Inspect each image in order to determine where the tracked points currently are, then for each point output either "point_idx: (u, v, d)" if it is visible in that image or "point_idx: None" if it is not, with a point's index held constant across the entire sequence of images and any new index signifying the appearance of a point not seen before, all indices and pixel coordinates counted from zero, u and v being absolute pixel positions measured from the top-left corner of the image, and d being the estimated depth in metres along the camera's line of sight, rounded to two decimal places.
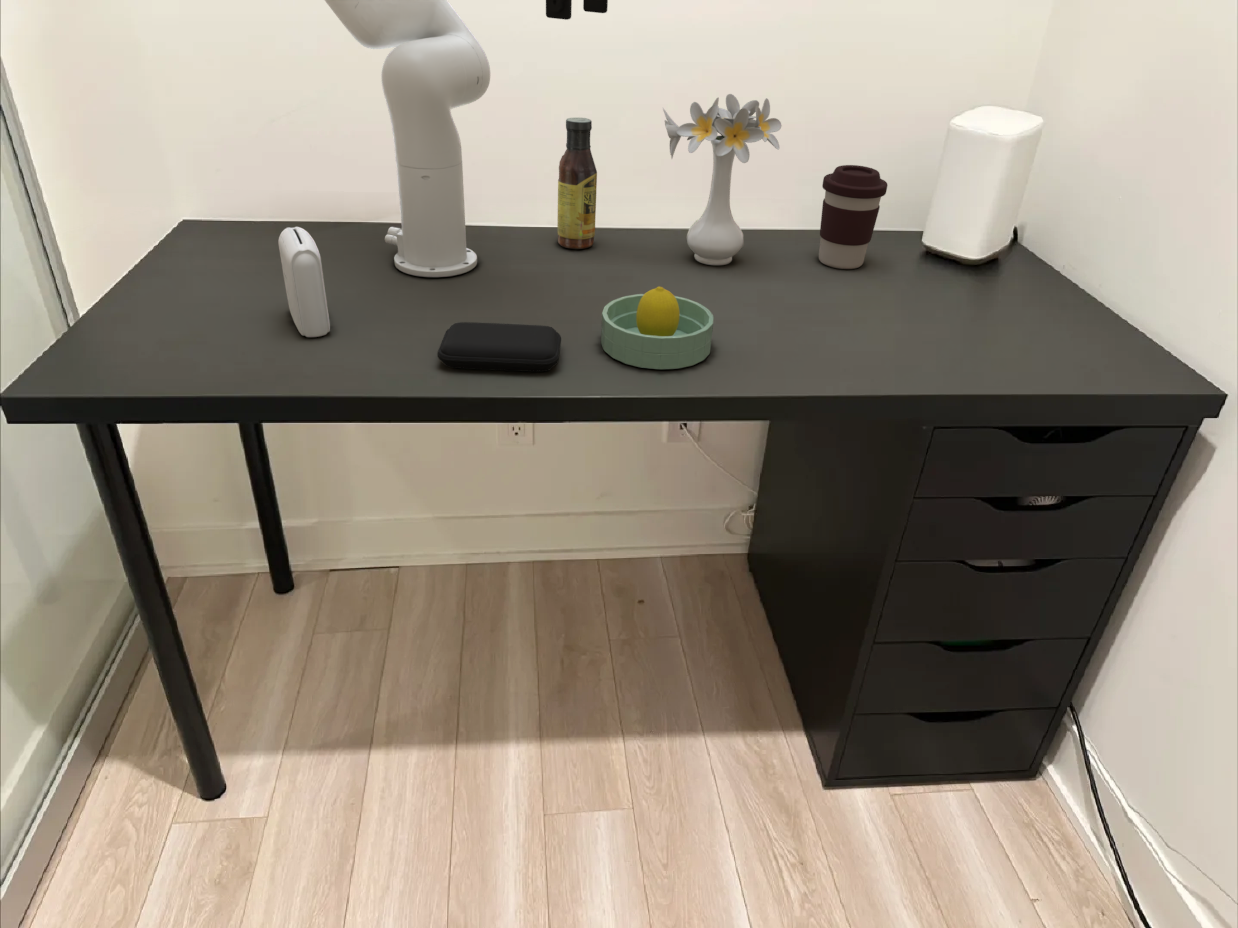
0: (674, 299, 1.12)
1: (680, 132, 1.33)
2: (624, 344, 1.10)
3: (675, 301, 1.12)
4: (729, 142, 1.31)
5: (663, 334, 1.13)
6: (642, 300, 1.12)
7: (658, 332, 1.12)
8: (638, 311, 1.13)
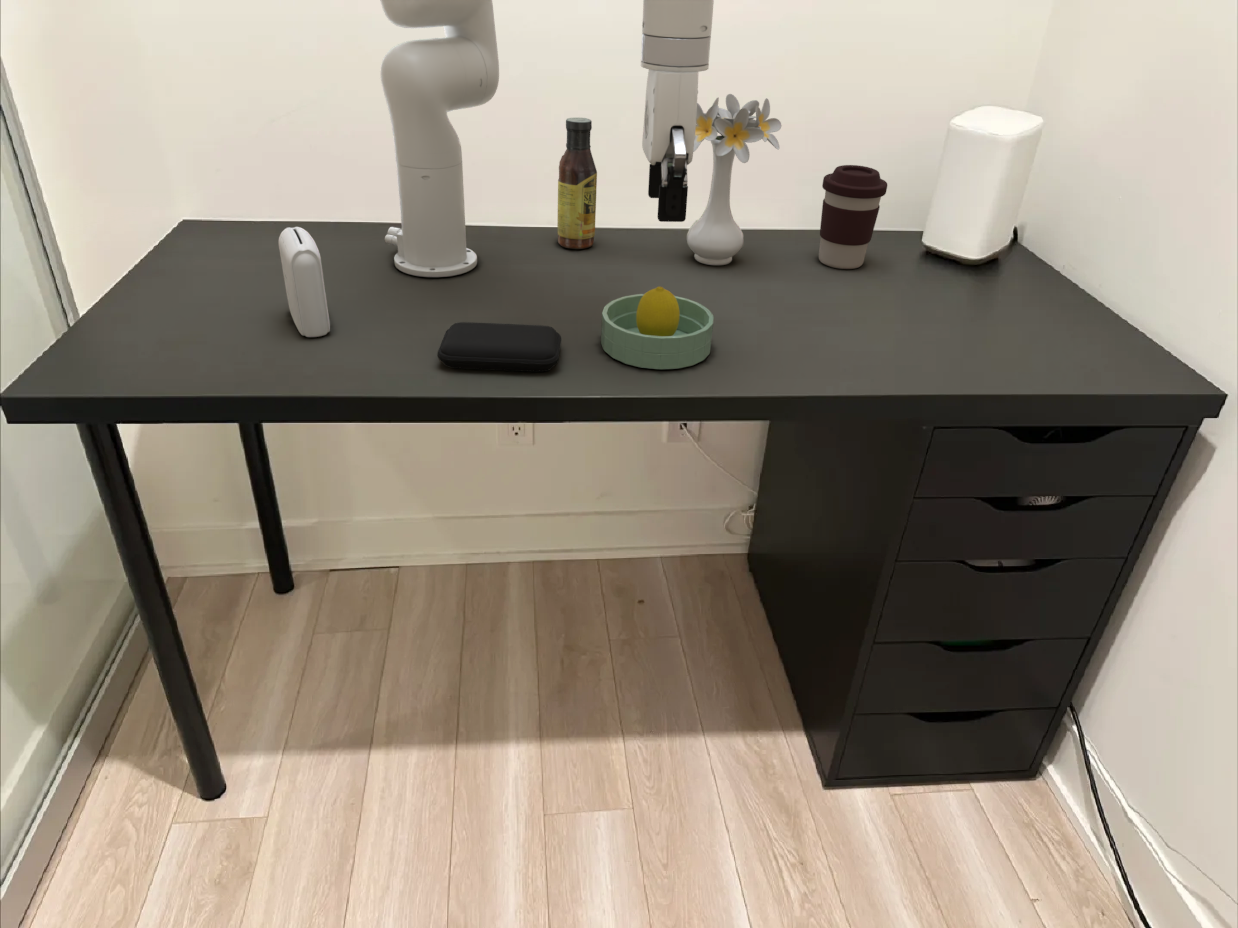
0: (674, 299, 1.12)
1: None
2: (624, 344, 1.10)
3: (675, 301, 1.12)
4: (729, 142, 1.31)
5: (663, 334, 1.13)
6: (642, 300, 1.12)
7: (658, 332, 1.12)
8: (638, 311, 1.13)
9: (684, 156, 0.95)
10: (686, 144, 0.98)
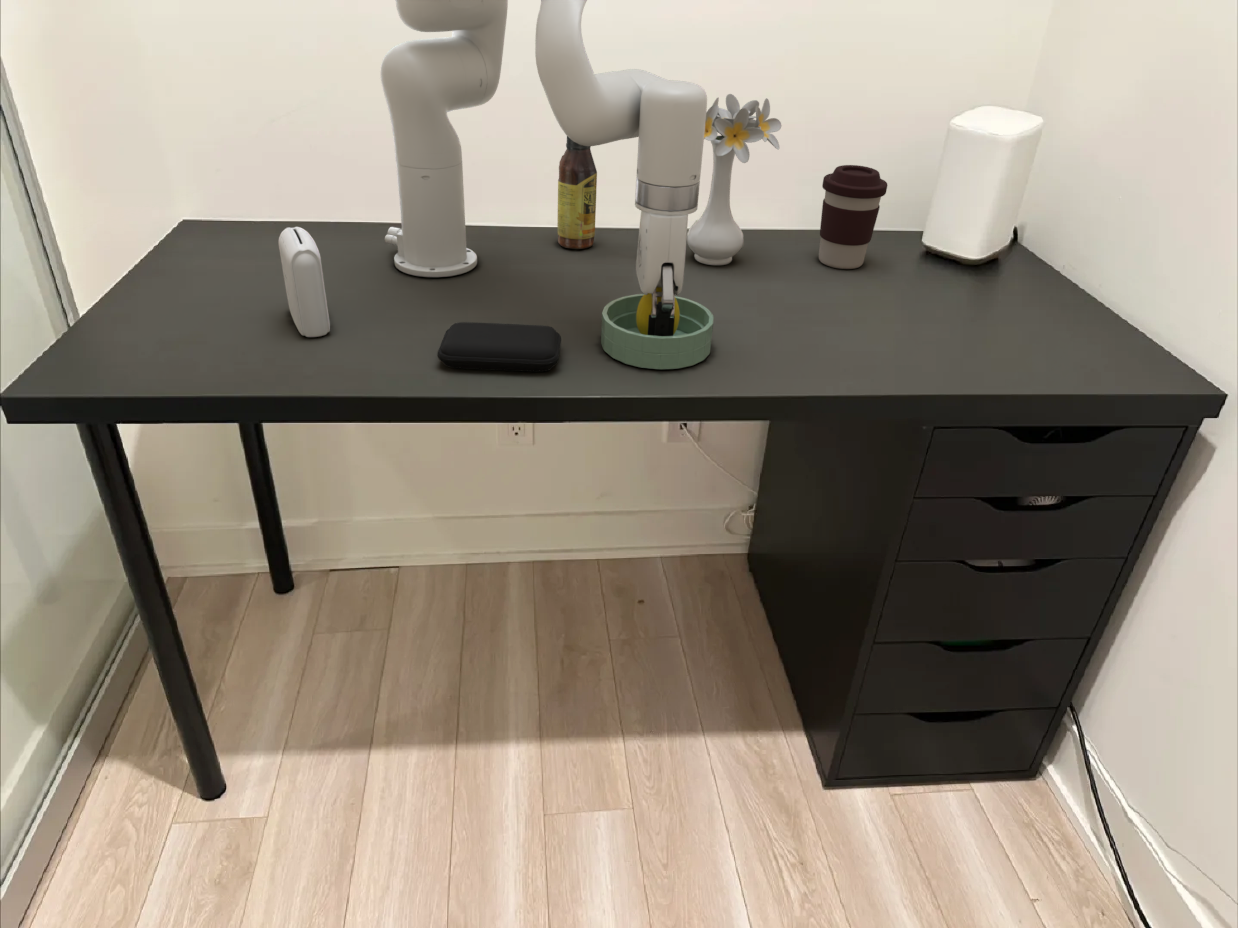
0: None
1: None
2: (624, 344, 1.10)
3: (675, 301, 1.12)
4: (729, 142, 1.31)
5: None
6: (642, 300, 1.12)
7: None
8: (638, 311, 1.13)
9: (671, 303, 1.05)
10: (676, 278, 1.06)
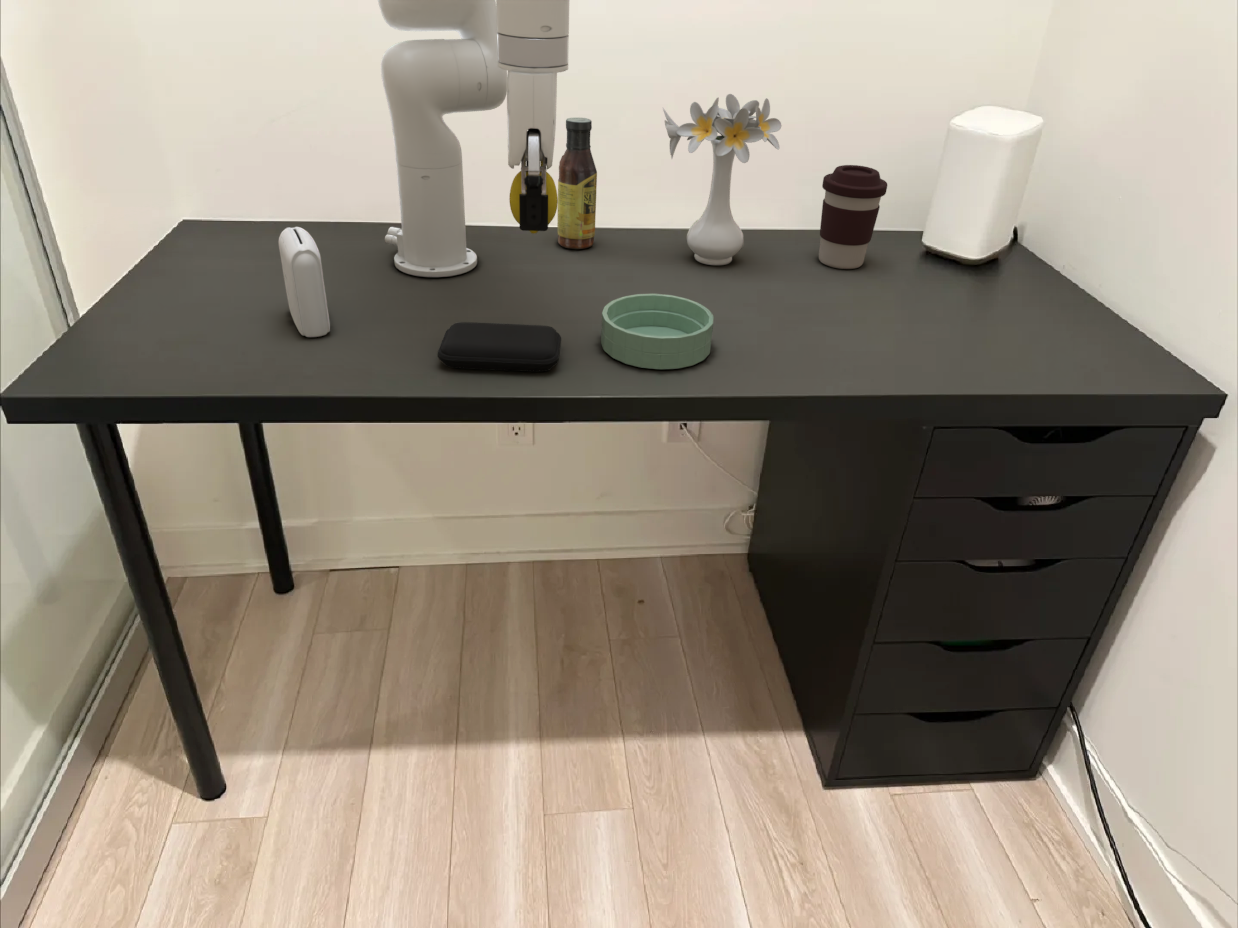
0: (549, 178, 1.01)
1: (680, 132, 1.33)
2: (624, 344, 1.10)
3: (551, 180, 1.01)
4: (729, 142, 1.31)
5: None
6: (514, 179, 1.01)
7: None
8: (510, 192, 1.01)
9: (537, 174, 0.94)
10: (544, 148, 0.95)
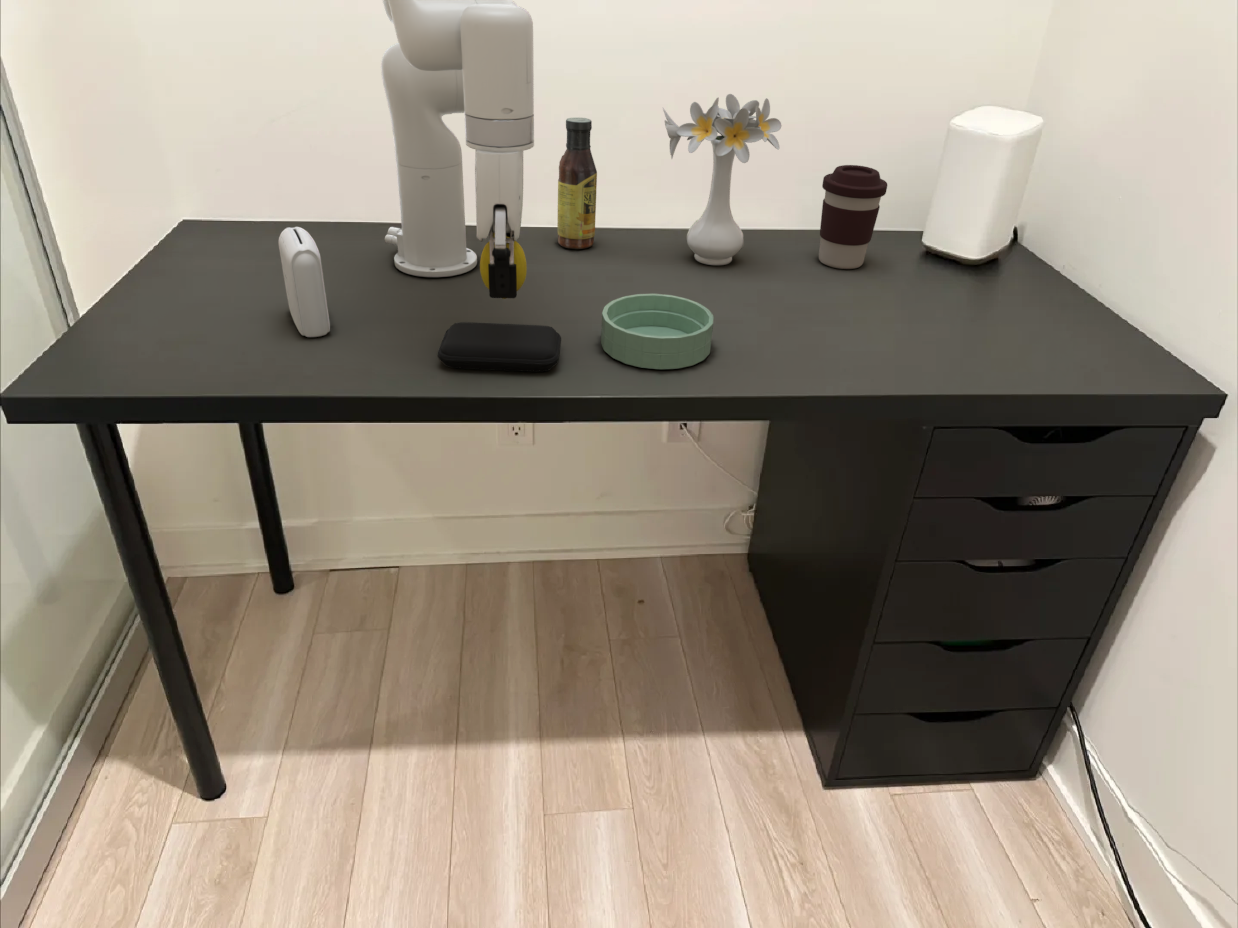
0: (518, 247, 1.04)
1: (680, 132, 1.33)
2: (624, 344, 1.10)
3: (519, 250, 1.04)
4: (729, 142, 1.31)
5: None
6: (484, 249, 1.04)
7: None
8: (480, 261, 1.05)
9: (504, 248, 0.97)
10: (510, 222, 0.98)
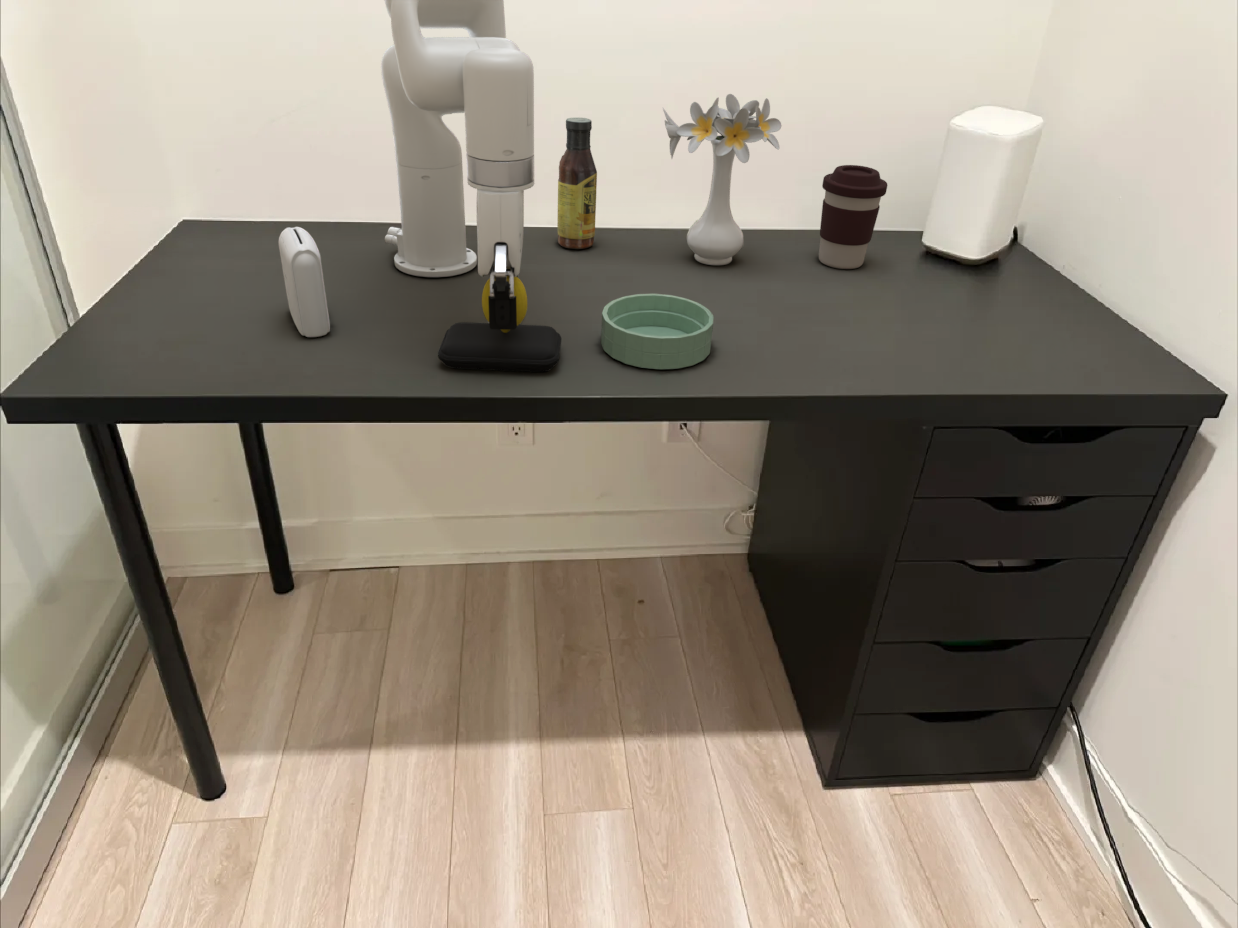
0: (519, 284, 1.06)
1: (680, 132, 1.33)
2: (624, 344, 1.10)
3: (520, 286, 1.07)
4: (729, 142, 1.31)
5: None
6: (485, 285, 1.07)
7: None
8: (482, 296, 1.07)
9: (504, 274, 0.98)
10: (511, 259, 1.00)
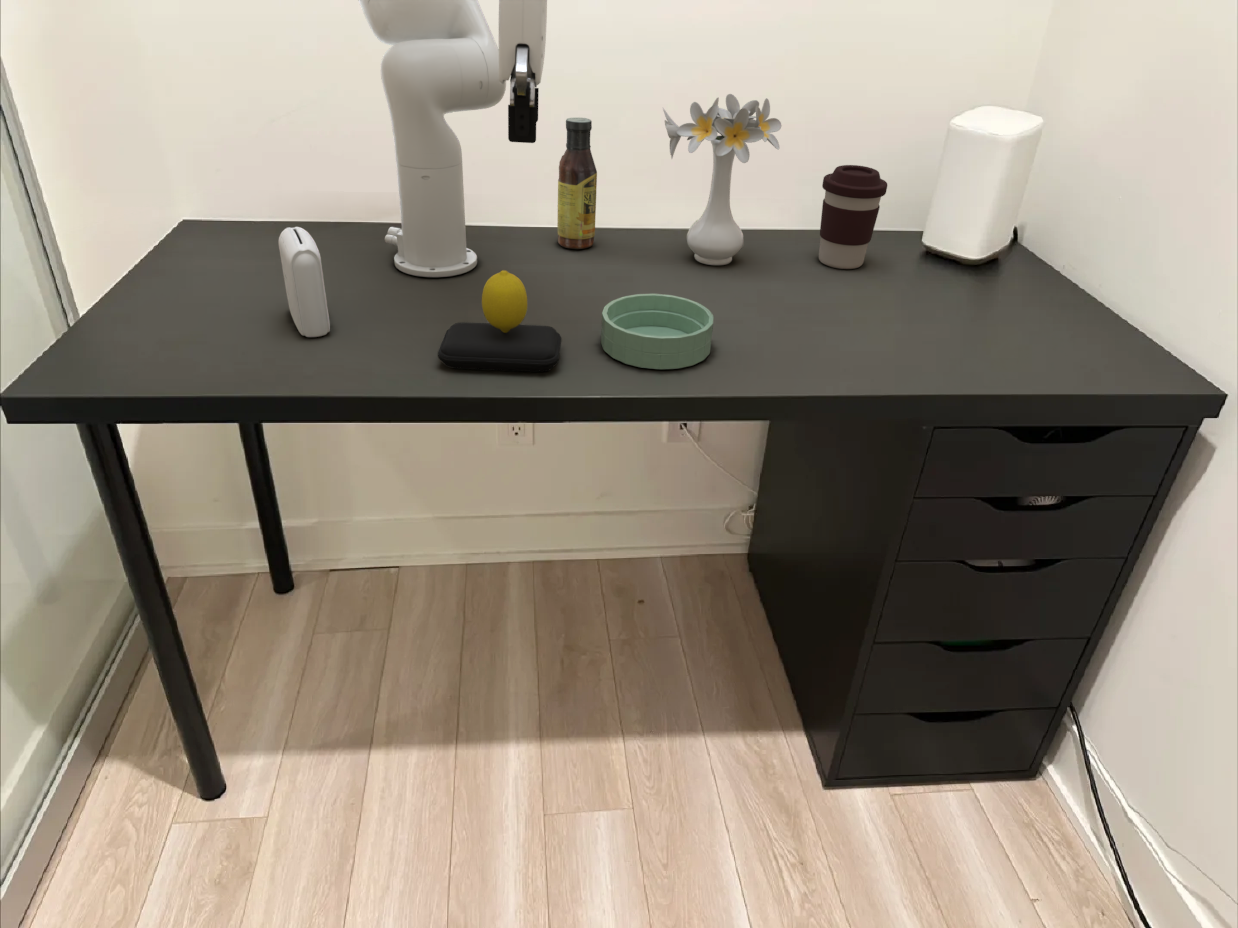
0: (519, 284, 1.06)
1: (680, 132, 1.33)
2: (624, 344, 1.10)
3: (520, 286, 1.07)
4: (729, 142, 1.31)
5: (508, 320, 1.07)
6: (485, 285, 1.07)
7: (503, 318, 1.07)
8: (482, 296, 1.07)
9: (524, 74, 0.96)
10: (532, 63, 0.99)
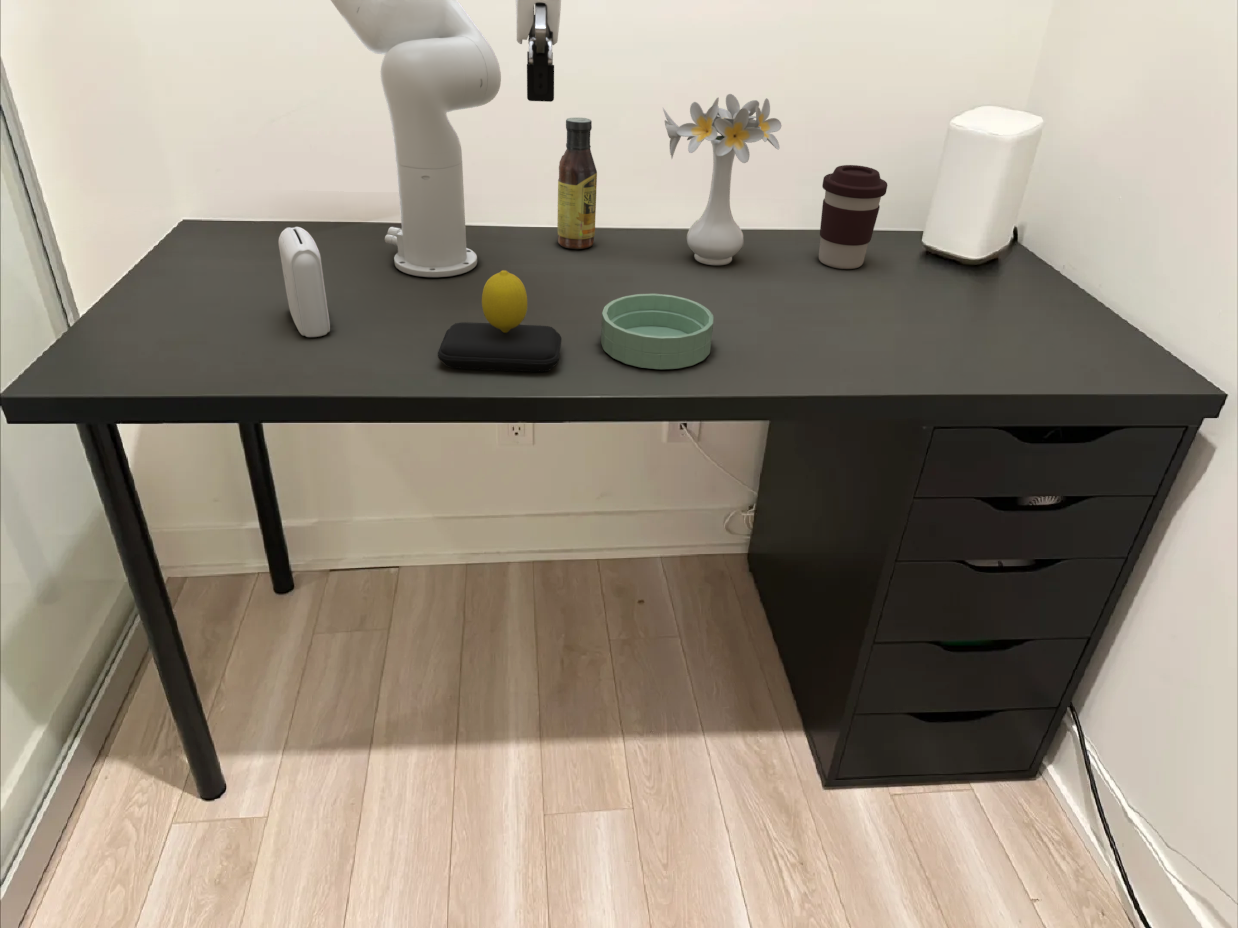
0: (519, 284, 1.06)
1: (680, 132, 1.33)
2: (624, 344, 1.10)
3: (520, 286, 1.07)
4: (729, 142, 1.31)
5: (508, 320, 1.07)
6: (485, 285, 1.07)
7: (503, 318, 1.07)
8: (482, 296, 1.07)
9: (544, 30, 0.99)
10: (550, 22, 1.02)
